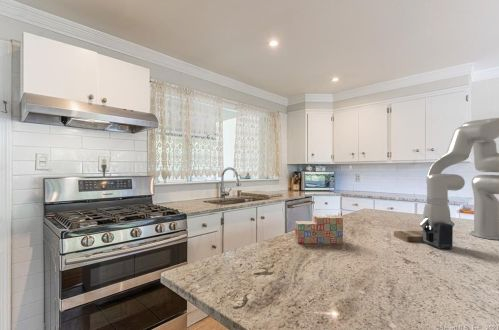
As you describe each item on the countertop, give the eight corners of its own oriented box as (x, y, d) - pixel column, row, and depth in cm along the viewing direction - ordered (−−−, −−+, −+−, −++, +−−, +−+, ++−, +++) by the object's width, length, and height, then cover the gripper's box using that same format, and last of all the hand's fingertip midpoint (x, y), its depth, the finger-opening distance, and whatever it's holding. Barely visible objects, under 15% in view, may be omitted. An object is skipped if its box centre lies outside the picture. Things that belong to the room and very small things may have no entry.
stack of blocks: (297, 244, 116) (297, 217, 116) (294, 239, 123) (294, 214, 123) (343, 243, 117) (343, 217, 117) (338, 239, 123) (338, 214, 123)
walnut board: (430, 235, 130) (430, 230, 130) (446, 241, 120) (446, 235, 120) (393, 236, 129) (393, 231, 129) (407, 242, 119) (407, 236, 119)
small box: (454, 249, 108) (454, 225, 108) (439, 249, 108) (439, 224, 108) (435, 241, 119) (435, 219, 119) (421, 241, 119) (421, 219, 119)
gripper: (447, 200, 118) (447, 238, 118) (413, 200, 116) (413, 239, 116) (462, 202, 110) (462, 243, 110) (425, 203, 109) (425, 244, 109)
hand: (437, 240), depth 113 cm, fingers closed on small box, 6 cm apart
